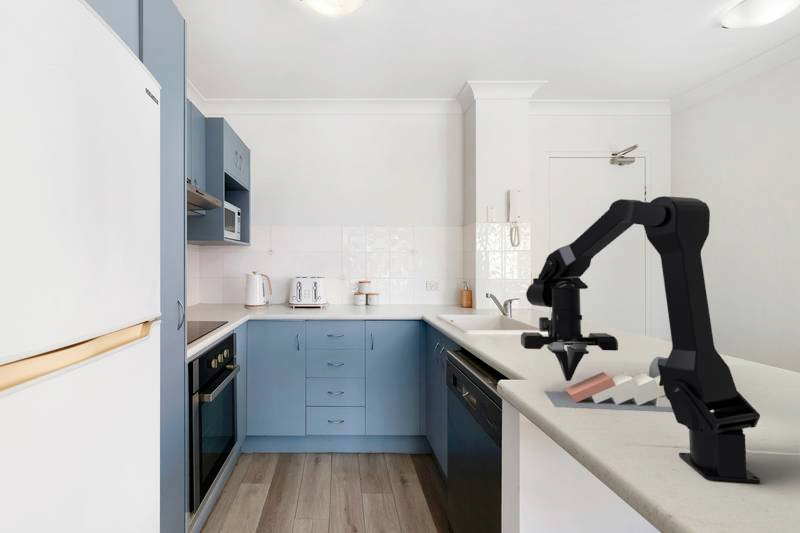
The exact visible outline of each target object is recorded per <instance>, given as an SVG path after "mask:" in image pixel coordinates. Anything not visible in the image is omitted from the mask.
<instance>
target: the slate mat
mask: <svg viewBox="0 0 800 533" xmlns="http://www.w3.org/2000/svg"><path fill="white" fill-rule="evenodd" d="M543 392H544V393H545V395H546V396H547V398H548V399H549V401H550V402H551V404H552V405H553V407H555V408H565V409H566V408H567V409H568V408H570V409H573V408H574V409H590V410H592V409H593V410H613V411H635V412H655V413H656V412H657V413H674V412H673V409H672V407H658V406H656V405H655V404H653V403H652V402H650V401H648V402H645V403H643V404H641V405H637V404H635V403H634V402H633V401H631V400H630V399H629V400H627V401H624V402H622V403H619V404H617V405H616V404H615V403H614V402H613V401H611V400H610V399H609V398H608V399H606V400H603V401H601V402H599V403H595V402H594V401H593V400H591V399H590V398H589V397H588V398H586V399H583V400H581V401H579V402H576V403H575V402H574V401H573V400H572V399H571V398H570V397H569V395H568V393H567V392H566V391H550V390H548V391H546V390H544V391H543Z"/></svg>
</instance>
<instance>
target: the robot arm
mask: <svg viewBox="0 0 800 533" xmlns="http://www.w3.org/2000/svg"><path fill="white" fill-rule="evenodd" d="M710 212H711V211H710V207H709V205H708V204H707V203H706V202H704V201H702V200H701V199H699V198H694V197H684V196H683V197H680V196H658V197H656V198H654V199H652V200H651V201H649V202H648V201H641V200H638V199H628V198H627V199H623V198H621V199H617V200H615V201H613V202H612V203H611V204H610V206H609V209H608V210H607V211H605V212H604V213H603V214H602V215H601V216H600V217H599V218H598V219H597V220H595V222H594V223H593V224H590V226H589V227H588V228H587V229H586V230H585V231H583V232H582V234H580V235H579V236H578V237H577V238H576V239H575V240H574V241H573V242H571V243H570V244H567V245H564V246H562V247H559V248H557V249H555V250H554V251H552V252H550V253H549V254H548V255H547V257H546V259H545V262H544V264H543V266H542V269H541V272H540V273H539V274H538V277H537V278H533V279H532V282H533V283H531V284H530V285H529V286H528V287H527V290H526V292H525V293H526V294H525V296H526V299H527V301H528V303H530V305H532V306H538V307H545V308H551V315H550V316H551V317H550V319H549V317H548V316H544V317H543V316H540V317H538V318H539V319H538V328H539V331H540V332H529V331H528V332H527V331H526V332H522V333H521V334H520V345H521V346H522V347H523V349H526V350H541V349H542V348H543V347H544V346H546V348H547V349H548V350H549V351H550V352H551V354H554V355H555V357H556V359H557V361H558V364H559V366H560V368H561V371H562V374H563V376H564V379H565V381H566V382H571V381H572V378H573V376H574V375H575V372H576V370H577V367H578V366H579V364H580V362H581V361H582V359H583V357H584V355H588V354H589V353H590V351H589V350H587V347H588V346H589V347H590V346H598V348H599V349H601V350H602V351H614V352H615V351H619V342H618V340H617V338H616V337H615V336H613V335H611V334H609V333H605V332H603V333H602V332H590V333H589V334H588V336H584V335H583V334H582V321H583V315H582V314H581V312H582V311H581V290H587V289H589V288H588V287H589V285H587V283H585V282H584V281H582V280H581V278H580V277H581V276H583V274H585V273H586V271H587V270H588V269H589V268H590V266H591V262H592V259H594V257H595V256H596V255H598V254H599V253H600V252H601V251H602V250H603V249H605V248H606V247H607V246H609V245H610V244H611V243H612V242H614V241H615V240H616V239H617V238H618V237H620V236H621V235H622V234H624V233H625V232H626V231H627V230H628V229H630V228H631V227H632V226H633V225H640V226H643V230H644V231H645V235H646V238H647V240H648V242H649V243H650V244H651V245H652V247H653V248H654V250H656V252H657V253H658V255H659V257H660V260H661V269H662V277H663V284H664V292H665V300H666V307H667V314H668V316H667V317H668V322H669V329H670V330H669V331H670V336H671V338H670V339H671V346H672V347H671V351H670V353H669V355H668V357H663V358H662V359H658V368H659V372H660V382H659V386H663V388H664V392H665V395H666V397H667V399H668V400H669V401H670V404H671V408H672V409H673V412H672V413H673V415H674V417H675V421H676V422H677V423H678V424H681V425H683V426H685V427H686V428H687V429H688V432H689V451H690V452H679V453H678V456H679V458H680V459H682V460H683V461H684V462H685V463H686V464H687V465H689V466H690V467H691V468H692V469H694V470H695V471H696V472H697V473H698V474H700V475H701V476H702V477H703V478H705V479H706V480H713V481H724V482H725V481H727V482H737V483H738V482H742V483H753V484H754V483H756V484H760V483H761V478H760V477H758V476H757V475H756V474H754V473H753V472H751V471H750V470H748V469H747V451H746V450H747V449H746V448H747V447H746V434H745V433H744V430H745V429H747V428H750V429H752V428H756V427H757V424H758V422H759V421H760V418H761V415H760V413H759V412H758V411H757V410H756V409H755V408H754V407H753V406H752V405H751V403H749V401H748V400H746V398H745V397H744V396H743V395H742V394H741V393H740V392H739V391H738V390H737V387H736V384H735V380H734V378H733V375H732V371H731V369H730V366H729V365H728V364H727V363H726V361H725V360H724V359H723V358H722V356H721V355H720V354H719V353H718V352H719V351H717V349H716V347H715V343H714V336H713V331H712V330H713V329H712V322H711V316H710V315H711V314H710V308H709V301H708V295H707V289H706V281H705V275H704V274H705V273H704V267H703V262H702V261H703V260H702V250H703V248H704V245H705V243H706V241H707V239H708V237H709V234H710V222H711V221H710V220H711V219H710V217H711V216H710V215H711V213H710ZM541 332H545V333H546V332H547V336H546V335H542V334H541ZM565 346H566V349H565ZM589 355H590V354H589Z"/></svg>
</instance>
